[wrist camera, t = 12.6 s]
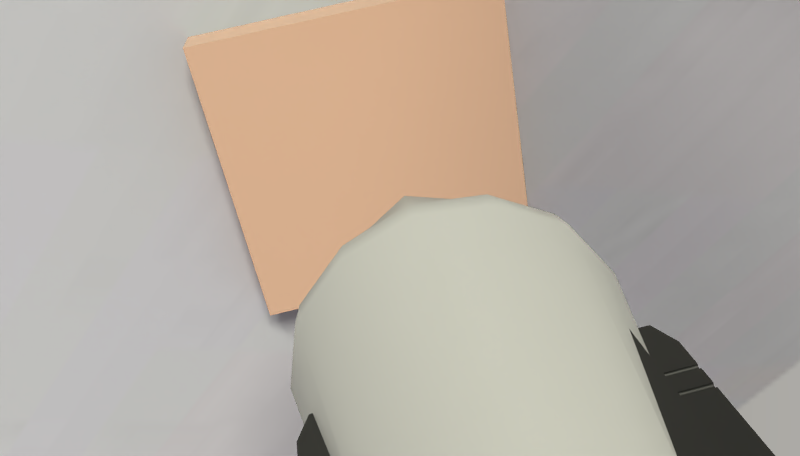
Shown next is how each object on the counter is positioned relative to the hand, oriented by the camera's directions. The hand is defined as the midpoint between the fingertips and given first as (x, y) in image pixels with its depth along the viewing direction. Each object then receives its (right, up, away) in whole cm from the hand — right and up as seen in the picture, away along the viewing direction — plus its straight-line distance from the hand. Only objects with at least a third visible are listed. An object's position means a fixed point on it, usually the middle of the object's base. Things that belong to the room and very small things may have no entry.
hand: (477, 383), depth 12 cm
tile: (-3, +11, +16) cm, 20 cm away
